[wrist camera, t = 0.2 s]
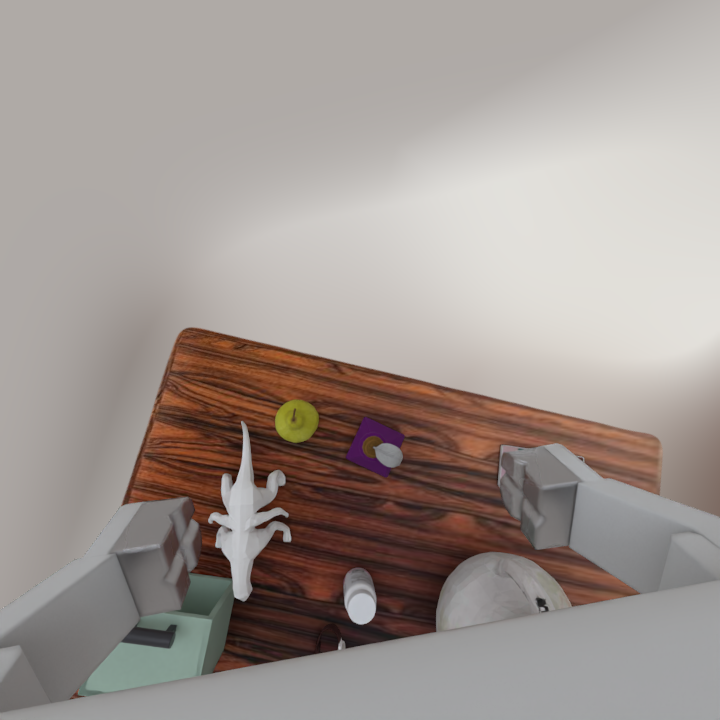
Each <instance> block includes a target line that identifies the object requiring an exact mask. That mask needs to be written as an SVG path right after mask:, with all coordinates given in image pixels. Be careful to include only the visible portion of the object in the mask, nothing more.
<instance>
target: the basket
mask: <svg viewBox="0 0 720 720" xmlns="http://www.w3.org/2000/svg"><path fill="white" fill-rule="evenodd" d="M189 578H190V581H191V583H190V586H189V589H188V592H187V594H186V597H185V600H184V602H183V605H182V608H181V609H180V610H175V611H170V612H165V613H160V614H155V615H150V616H145V617H140V618H141V620H140V621H139V622H138V623H137V624H136V625H135V627H134V628H133V629H132V630H131V631H130V632H129V633H128V634H127V635H126V637H125V638H124V639H123V640H122V641H121V642H120V643H119V644H118V645H117V647H116V648H115V649H114V650H113V651H112V652H111V653H110V654H109V655H108V657H107V658H106V659H105V660H104V661H103V662H102V663H101V664H100V665H99V667H98V668H97V669H96V670H95V671H94V672H93V673H92V674H91V675H90V677H89V678H88V679H87V680H86V681H85V682H84V683H83V684H82V685H81V687H80V688H79V692H78V695H82V696H92V695H98V694H103V693H109V692H114V691H120V690H125V689H130V688H136V687H141V686H147V685H152V684H158V683H163V682H169V681H174V680H179V679H185V678H190V677H196V676H201V675H206V674H212V672H213V670H214V668H215V666H216V664H217V662H218V660H219V658H220V656H221V654H222V652H223V650H224V646H225V641H226V636H227V631H228V626H229V621H230V616H231V611H232V606H233V601H234V592H233V587H232V584H233V580H232V579H230V578H223V577H216V576H208V575H201V574H194V573H189Z"/></svg>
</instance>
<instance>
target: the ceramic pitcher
mask: <svg viewBox="0 0 720 720" xmlns="http://www.w3.org/2000/svg"><path fill="white" fill-rule="evenodd" d="M569 607H572V606H571V603H570V601H569V600H568V598H567V596H566V594H565V593H564V591H563V589H562V588H561V587H560V585H559V584H558V583H557V582H556V580H555V579H554V578H553V577H551V576H550V575H549V574H548V573H547V572H546V571H545V570H543V569H542V568H541V567H540V566H538V565H537V564H536V563H534V562H533V561H531V560H529V559H527V558H524V557H521V556H517V555H513V554H508V553H502V552H488V553H481V554H478V555H475V556H473V557H470V558H469V559H467V560H465V561H463V562H462V563H460V564H459V565H458V566H457V568H456V569H455V570H454V571H453V572H452V573H451V574H450V575H449V576H448V578H447V580H446V582H445V583H444V585H443V587H442V590H441V593H440V597H439V601H438V605H437V610H436V632H439V631H444V630H450V629H455V628H461V627H466V626H471V625H477V624H482V623H488V622H493V621H498V620H504V619H509V618H515V617H520V616H526V615H531V614H536V613H542V612H547V611H553V610H558V609H563V608H569Z"/></svg>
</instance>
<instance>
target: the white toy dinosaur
mask: <svg viewBox="0 0 720 720" xmlns="http://www.w3.org/2000/svg"><path fill="white" fill-rule="evenodd" d="M241 423H242V428H243V453H242V462H241V467H240V470H239V473H238V476H237V480H236V482H235V484H234V485H233V481H232V476H231V475H230V474H228V473H225V474H224V475H223V476H222V486H221V494H222V499H223V503H224V505H225V506H226V509H227V512H228V513H229V515H221V514H220V513H218V512H215V513H212V514H211V515H210V518H209V520H208V522H209V523H210V524H211V523H213V520H215V521H216V522H217V523H219V524H220V525H223V526H221V527H220V529H219V530H218V533H217V540H216V544H215V546H216V548H221V547H222V551H223V553H224V554H225V556H226V557H227V558H228V560H229V561H230V563H231V572H232V580H233V584H232V587H233V592H234V597H235V598H237V599H240V600H242V601H246V600H247V598H248V597H249V595H250V593H251V591H252V586H251V583H250V574H251V570H252V566H253V560H254V559H255V557H256V556H257V555H258V554H259V553H260V552H261V550H262V549H263V548H264V547H265V546H266V545H267V543H268V542H269V541H270V539H271V537H272V536H273V534H274V532H275V531H276V530H280V531H283V532H284V535H283V541H284V542H290V541H291V535H290V529H289V527H288V526H287V525H285V524H284V523H281V522H277V521H273V522H271V523H270V524H269V525H268V526H267V527H266V528H265V529H255V526H257V525H259V524H261V523H263V522H265V521H267V520H269V519H271V518H273V517H274V516H277V515H280V514H282V515H284V516H285V517H288V513H287V512H286V511H284V510H283V509H281V508H274V509H272V510H270V511H268V512H260V513H257V511H258V510H259V509H260V508H262V507H264V506H266V505H268V504H269V503H270V502H271V501H272V500H273V499H274V498H275V497H276V494H277V491H278V486H283V485H284V484H285V476H284V474H283V473H282V471H280V470H275V471H273V472H272V473H271V474H270V475H269V476H268V480H267V485H266V488H257V487H256V485H255V484H254V474H253V468H252V462H251V449H250V441H249V435H248V430H247V426H246V424H245V423H244V422H243V421H241ZM230 528H231V530H232V532H231V531H230Z"/></svg>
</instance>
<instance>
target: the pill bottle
mask: <svg viewBox="0 0 720 720" xmlns="http://www.w3.org/2000/svg"><path fill="white" fill-rule="evenodd" d="M343 587H344V602H345V607H346V610H347V611H348V614H349V617H350V618H351V620H352V621H353V622H355V623H357V624H366V623H368V622H369V621H371V620H372V619H373V617H374V615H375V612H376V594H375V590H374V585H373V581H372V578H371V576H370V574H369V573H368V572H367V571H366V570H365V569H363V568H354V569H352V570H350V571H349V572H348V573H347V574H346V576H345V578H344V583H343Z"/></svg>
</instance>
